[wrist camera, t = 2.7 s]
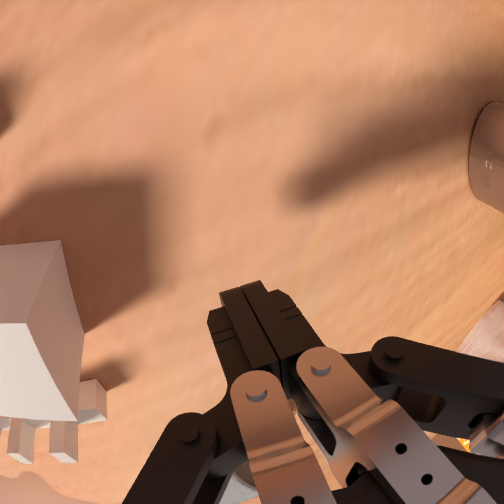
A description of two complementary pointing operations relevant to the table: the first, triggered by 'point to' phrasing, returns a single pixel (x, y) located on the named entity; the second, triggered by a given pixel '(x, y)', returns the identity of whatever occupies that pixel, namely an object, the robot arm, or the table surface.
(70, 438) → the notched wall frame
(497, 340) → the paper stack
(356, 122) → the table surface
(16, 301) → the white cube
